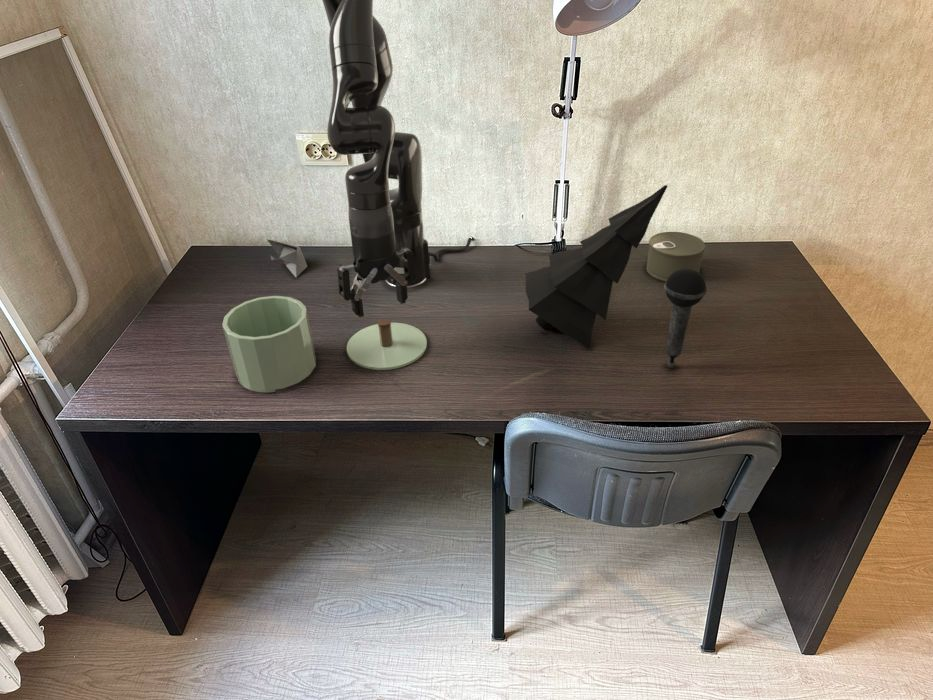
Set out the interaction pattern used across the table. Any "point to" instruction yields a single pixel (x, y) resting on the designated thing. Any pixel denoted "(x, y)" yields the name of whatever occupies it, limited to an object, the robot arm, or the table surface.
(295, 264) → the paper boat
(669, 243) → the can
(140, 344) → the table surface
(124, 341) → the table surface
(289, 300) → the crock
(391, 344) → the lid
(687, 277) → the microphone
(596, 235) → the decorative tree
